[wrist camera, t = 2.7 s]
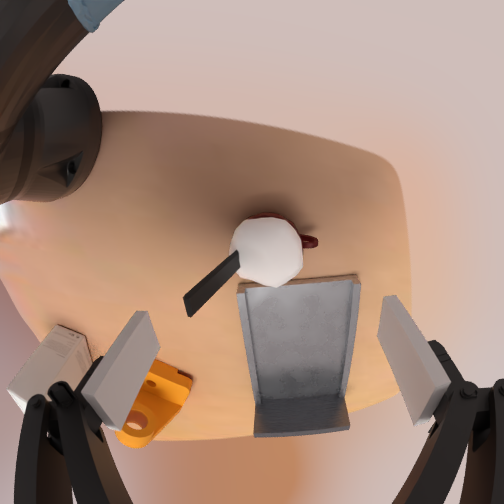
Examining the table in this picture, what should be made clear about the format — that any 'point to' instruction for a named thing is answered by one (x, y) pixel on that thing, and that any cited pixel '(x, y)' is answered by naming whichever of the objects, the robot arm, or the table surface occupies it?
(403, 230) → the table surface
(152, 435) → the bracket
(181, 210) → the table surface
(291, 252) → the cocoa
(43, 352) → the skincare box
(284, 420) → the grey dustpan
